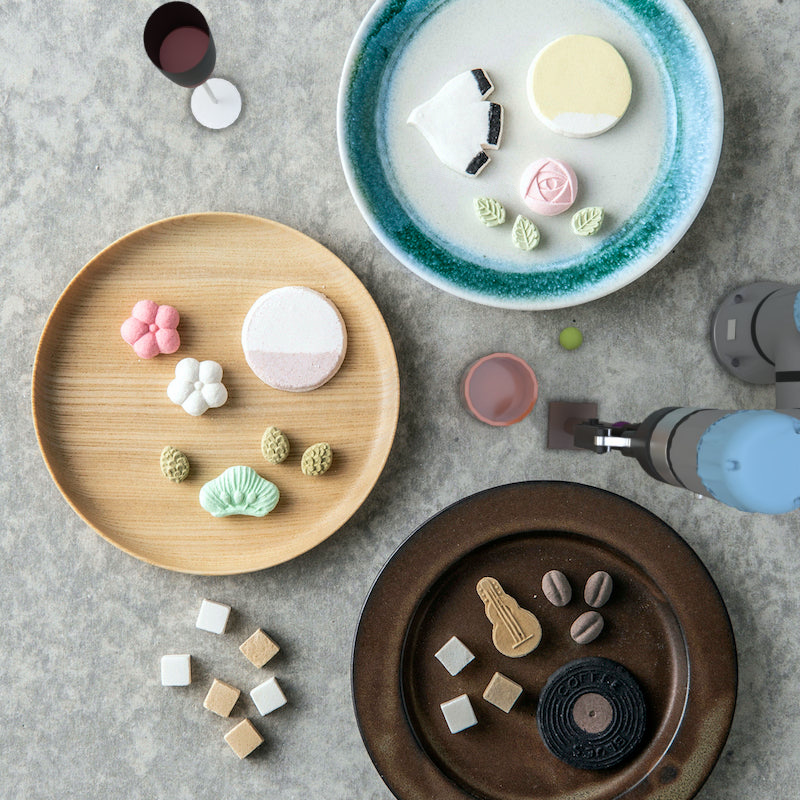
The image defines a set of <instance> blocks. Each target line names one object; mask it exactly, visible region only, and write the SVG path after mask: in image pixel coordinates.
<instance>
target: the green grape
mask: <svg viewBox="0 0 800 800" xmlns="http://www.w3.org/2000/svg"><path fill="white" fill-rule="evenodd" d="M583 340H584V336H583V333H582V332H581V330H580V329H579V328H577V327H574V326H568V327H566V328H564V329H563V330H562V331H561V332H560V334H559V337H558V341H559V344H560V345H561V347H562V348H564V349H565V350H567V351H574V350H577V349H578V348H580V347H581V345H582V344H583Z"/></svg>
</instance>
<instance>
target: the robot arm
mask: <svg viewBox="0 0 800 800" xmlns="http://www.w3.org/2000/svg"><path fill="white" fill-rule="evenodd" d="M709 329H710V331H709V336H710V337H709V338H710V345H711V348H712V351H713V354H714V356H715V358H716V360H717V361H718V363H719V364H720V366H721V367H722V368H723V369H724V370H725V371H726V372H727V373H728V374H729V375H731V376H732V377H734V378H736V379H738V381H739V380H740V381H742V382H745V383H748V384H754V385H769V384H774V385H775V390H774V391H775V408H769V409H766V408H765V409H764V408H763V409H720V408H718V407H717V408H716V407H705V406H704V407H703V406H702V407H701V406H675V405H674V406H665V407H662V408H659V409H656V410H655V411H653V412H652V413H651V412H650V414H648V415H647V416H646V418H644V420H643V421H642V422H633V423H631V424H623V426H622V427H612V426H604V424H601V423H599V421H600V419H599V418H597V417H596V418H589V422H588V421H582V424H580V423H578V424H576V425H574V446H576V447H579V448H584V449H588V450H587V451H593V453H595V454H597V455H603V454H607V453H610V454H611V453H612V450H613V451H619V452H620V454H621V456H622V457H626V458H632V459H636V461H637V463H638V464H639V466H640V467H641V468H642V470H643V471H644V472H645V473H646V474H647V475H648V476H649V477H650V478H652V479H653V480H654V481H655V480H656V481H658V482H660V483H662V482H663V483H662V484H664V483H666V484H669V485H672V486H675V487H679V488H678V489H682V490H686V491H689V492H691V493H693V497H694V499H695V500H697V501H704V500H705V499H706V498H708V499H711V500H713V501H716V502H720V503H722V504H724V505H725V506H727V507H729V508H734V509H736V510H738V511H740V512H743V513H748V514H749V513H750V514H756V513H757V514H762V515H770V516H771V515H773V516H775V515H776V516H777V515H783V514H789V513H791V512H793V511H796V510H798V509H799V508H800V283H796V284H792V285H788V284H785V283H781V282H776V281H757V282H752V283H749V284H745V285H742V286H740V287H738V288H736V289H734V290H732V292H730V293H728V294H727V295H726V296H725V297H724V298H723V299H722V300H721V302H720V303H719V304H718V306H717V307H716V310H715V311H714V314H713V316H712V319H711V323H710V328H709Z"/></svg>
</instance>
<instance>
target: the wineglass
mask: <svg viewBox="0 0 800 800" xmlns="http://www.w3.org/2000/svg"><path fill="white" fill-rule="evenodd" d="M142 42H143V48H144V51H145V53H146V56H147V57H148V59H149V60H150V61H151V63H152V64H153V66H154V67H155V68H156V69H157V70H158V71H159V72H160V73H161V75H163V76H164V77H165V78H167V79H168V80H170V82H172V83H174V84H175V85H177V86H179V87H182V88H184V89H185V88H187V89H194V91H193V93H192V95H191V99H190V108H191V111H192V115H193V116H194V118H195V119H196V121H197V122H198V123H200V124H201V125H202V126H204V127H206V128H208V129H212V130H213V129H214V130H220V129H225V128H227V127H229V126H231V125H232V124H234V122H235V121H236V120H237V119H238V117H240V113H241V111H242V101H243V100H242V97H241V93H240V92H239V90H238V89H237V87H236V85H234V84H233V83H231V82H230V81H229V80H226V79H224V78H220V77H219V78H216V77H213V78H211V76H212V75H213V73H214V70H215V67H216V64H217V49H216V44H215V40H214V36H213V34H212V30H211V28H210V26H209V23H208V21H207V19H206V16H205V15H204V14H203V12H201V10H200V9H199V8H198V7H196V6H195V5H193V4H191V3H190V2H186V1H182V0H173V1H168V2H165V3H163V4H161V5H159V6H158V7H157V8H156V9H154V10H153V12H151V14H150V16H149V17H148V18H147V21H146V22H145V25H144V28H143V34H142Z"/></svg>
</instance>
